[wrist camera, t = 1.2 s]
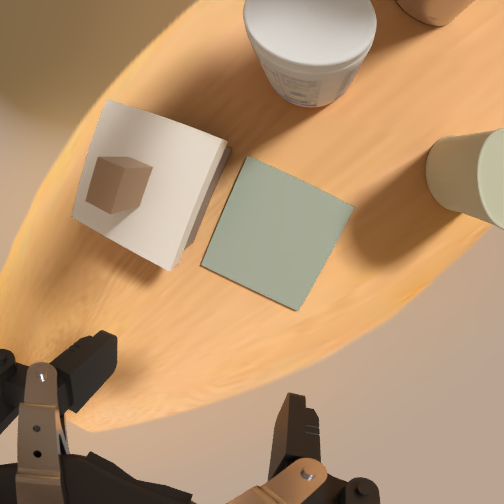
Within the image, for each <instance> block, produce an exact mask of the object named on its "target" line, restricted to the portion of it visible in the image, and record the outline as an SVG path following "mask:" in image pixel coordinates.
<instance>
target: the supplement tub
mask: <svg viewBox="0 0 504 504" xmlns="http://www.w3.org/2000/svg"><path fill="white" fill-rule="evenodd" d="M243 18H244V23H245V28H246V32H247V35H248V38H249V40H250V42H251V44H252V47H253V49H254V51H255V53H256V55H257V57H258V59H259V61H260V63H261V66H262V68H263V70H264V72H265V74H266V76H267V79H268V81H269V83H270V85H271V86H272V88H273V89H274V90H275V92H276V93H277V94H279V95H280V96H281V97H282V98H283V99H285V100H286V101H288V102H290V103H293V104H295V105H298V106H303V107H321V106H325V105H328V104H330V103H332V102H334V101H336V100H337V99H338V98H340V97H341V96H342V95H343V94H344V93H345V92H346V90H347V89H348V87H349V85H350V84H351V82H352V80H353V78H354V77H355V75H356V73H357V71H358V69H359V68H360V66H361V64H362V62H363V61H364V59H365V57H366V55H367V54H368V52H369V50H370V48H371V46H372V43H373V40H374V36H375V32H376V27H377V19H376V13H375V10H374V7H373V5H372V3H371V1H370V0H246V1H245V4H244V9H243Z"/></svg>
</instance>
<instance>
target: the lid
mask: <svg viewBox="0 0 504 504" xmlns="http://www.w3.org/2000/svg"><path fill="white" fill-rule="evenodd" d="M227 143H228V141H226V140H224V139H221V138H219V137H216V136H214V135H211V134H209V133H206V132H204V131H201V130H198V129H196V128H193V127H190V126H188V125H185V124H182V123H179V122H177V121H174V120H171V119H168V118H165V117H163V116H160V115H157V114H154V113H151V112H148V111H145V110H142V109H139V108H136V107H132V106H129V105H126V104H123V103H119V102H116V101H112V100H109V99H107V100H106V103H105V105H104V108H103V110H102V113H101V116H100V119H99V121H98V124H97V127H96V130H95V133H94V136H93V139H92V142H91V145H90V148H89V151H88V154H87V158H86V161H85V165H84V168H83V172H82V175H81V179H80V183H79V187H78V191H77V195H76V199H75V203H74V208H73V212H72V218H74V219H76V220H77V221H79V222H81V223H82V224H84V225H86V226H88V227H89V228H91V229H93V230H95V231H96V232H98V233H100V234H102V235H103V236H105V237H107V238H109V239H110V240H112V241H114V242H116V243H118V244H119V245H121V246H123V247H125V248H127V249H128V250H130V251H132V252H134V253H136V254H138V255H139V256H141V257H143V258H145V259H147V260H149V261H151V262H153V263H154V264H156V265H158V266H160V267H162V268H164V269H166V270H168V271H171V270H173V269H174V268H175V267H176V266H178V264H179V262H180V259H181V256H182V254H183V251H184V248H185V246H186V243H187V240H188V238H189V235H190V232H191V230H192V227H193V225H194V222H195V220H196V217H197V214H198V212H199V209H200V207H201V204H202V202H203V199H204V197H205V195H206V192H207V190H208V187H209V185H210V182H211V180H212V178H213V175H214V173H215V171H216V168H217V166H218V164H219V161H220V159H221V157H222V154H223V152H224V150H225V147H226V145H227Z"/></svg>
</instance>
